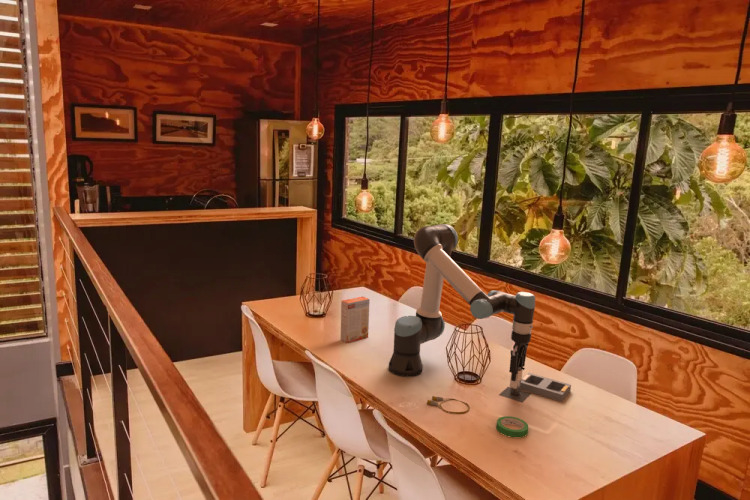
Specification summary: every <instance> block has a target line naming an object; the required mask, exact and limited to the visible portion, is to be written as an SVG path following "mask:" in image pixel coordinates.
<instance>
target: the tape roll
mask: <svg viewBox="0 0 750 500" xmlns="http://www.w3.org/2000/svg"><path fill="white" fill-rule="evenodd" d="M504 424H505V425H504ZM512 424H514V425H513V426H516V425H517V427H518V428H515V429H514V428H510V427H507V426H506V425H512ZM520 427H521V428H520ZM495 428H497V429H496V431H497V432H498V431H499V433H500V434H501V433H502V434H501V435H503V434H504V435H503V436H505V435H506V436H505V437H508V436H510V437H509V438H513V437H521V438H524V437H526V436H527V435H528V433H529V424H528V423H527V422H526V421H525V420H523V419H521V418H519V417H515V416H510V415H508V416H506V415H505V416H501V417H498V418H497V420H496V427H495ZM525 435H526V436H525ZM523 436H524V437H523Z"/></svg>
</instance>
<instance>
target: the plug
mask: <svg viewBox="0 0 750 500" xmlns="http://www.w3.org/2000/svg"><path fill="white" fill-rule="evenodd" d="M523 371H524V370H522V369H521V366H519V368H518V373H519V374H518V382H517V388H516V389H515V388H512V387H510V386H509V387H510V393H511V394H514V395H519V394H520V390H521V380H522V378H523Z"/></svg>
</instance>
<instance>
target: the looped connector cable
mask: <svg viewBox="0 0 750 500" xmlns="http://www.w3.org/2000/svg"><path fill="white" fill-rule="evenodd" d="M443 400H444V401H443ZM441 401H442V402H441ZM449 401H456V402H460V403H462V404H463V405H465V406H466V407H467V410H465V411H449V410H446V409H444V408H443V407H442V406H441V405H442V404H443V403H445V402H449ZM439 402H440V403H439ZM426 405H430V406H435V407H438V408H439V410H441V409H442V411H444V412H445V411H446V413H448V412H449V414H454V413H455V415H456V414H457V415H459V414H460V415H462V414H465V413H467V412H469V411H470V405H469V404H468V403H467V402H464V401H462V400H458V399H456V398H448V399H445V398H444V397H442V396H434V395H432V398H431V400H430V399H427V401H426ZM461 413H462V414H461Z"/></svg>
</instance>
